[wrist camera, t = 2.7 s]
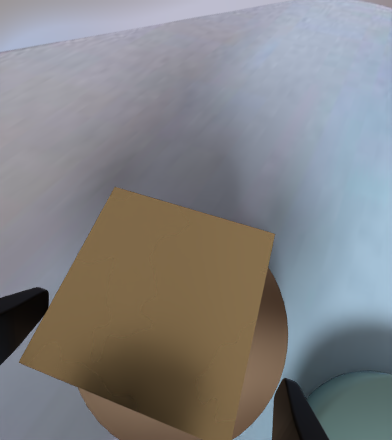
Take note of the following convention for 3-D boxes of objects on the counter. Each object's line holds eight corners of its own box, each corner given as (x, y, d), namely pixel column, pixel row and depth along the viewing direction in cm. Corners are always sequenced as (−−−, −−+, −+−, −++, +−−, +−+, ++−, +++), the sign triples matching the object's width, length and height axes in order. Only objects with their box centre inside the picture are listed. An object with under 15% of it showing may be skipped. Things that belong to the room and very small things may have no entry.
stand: (296, 419, 16) (317, 436, 13) (82, 451, 15) (57, 476, 12) (252, 226, 21) (260, 210, 18) (93, 244, 20) (78, 229, 18)
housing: (209, 384, 14) (229, 450, 6) (117, 349, 15) (18, 362, 6) (234, 287, 16) (275, 233, 8) (154, 260, 17) (114, 186, 9)
